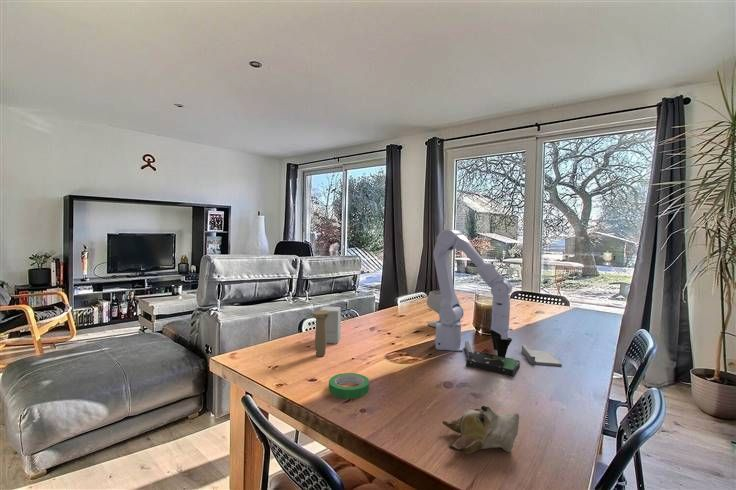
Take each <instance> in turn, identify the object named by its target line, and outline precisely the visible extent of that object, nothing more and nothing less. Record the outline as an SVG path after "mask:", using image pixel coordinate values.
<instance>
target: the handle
mask: <svg viewBox="0 0 736 490" xmlns="http://www.w3.org/2000/svg"><path fill="white" fill-rule="evenodd" d="M311 316H312V318H314V319H315V335H314V345H315V346H314V347H315V355H316V356H317V357H324V356H325V355H326V350H327V343H326V342H327V337H326V318H327V317H328V316H330V311H327V310H321V309H319V310H315V311H312V312H311Z"/></svg>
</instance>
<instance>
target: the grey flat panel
mask: <svg viewBox="0 0 736 490" xmlns="http://www.w3.org/2000/svg"><path fill="white" fill-rule="evenodd" d="M471 347H472V346H471V345H470V342H469V341H468V340H465V341H464V349H465V352H466V356H467V358H470V356H471V355H472V354H473V350H472V348H471ZM521 352H522V354H523V356H524V357H525V358H526V359H527V361H528V362H529V363H530V365H539V366H541V365H543V366H555V367H562V365H563V364H562V363H561V362H560V360H559V359H558V358H556V356H555V355H553V354H552V352H551V351H548V350H537V349H536V350H535V349H529V348H528V346H527V345H526V344H522V345H521Z"/></svg>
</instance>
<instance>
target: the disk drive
mask: <svg viewBox="0 0 736 490" xmlns="http://www.w3.org/2000/svg"><path fill="white" fill-rule="evenodd" d="M520 365H521V362H520V360H519V359H514V358H511V357H507V356H505V357H501V356H498V354H496V355H495V354H491V353H487V352H486V353H485V352H482V351H474V352H472V355H471V356H470V358H468V357H467V359H465V367H468V368H471V369H477V370H481V371H486V372H489V373H494V374H498V375H502V376H506V377H510V378H514V377H515V375H516V374H517V372H518V370H519V368H520Z"/></svg>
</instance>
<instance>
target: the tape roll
mask: <svg viewBox="0 0 736 490" xmlns="http://www.w3.org/2000/svg"><path fill="white" fill-rule="evenodd" d="M343 384H356V386H344V385H343ZM328 391H329V394H331V395H332V396H333V397H336V398H338V399H339V398H341V399H346V400H347V399H348V400H350V399H351V400H352V399H359V398H361V397H364V396H365V395H367V394H369V391H370V379H369V378H368V377H367V376H365V375H364V374H361V373H356V372H343V373H338V374H335V375H333V376H331V377H330V378H329V380H328Z"/></svg>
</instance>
